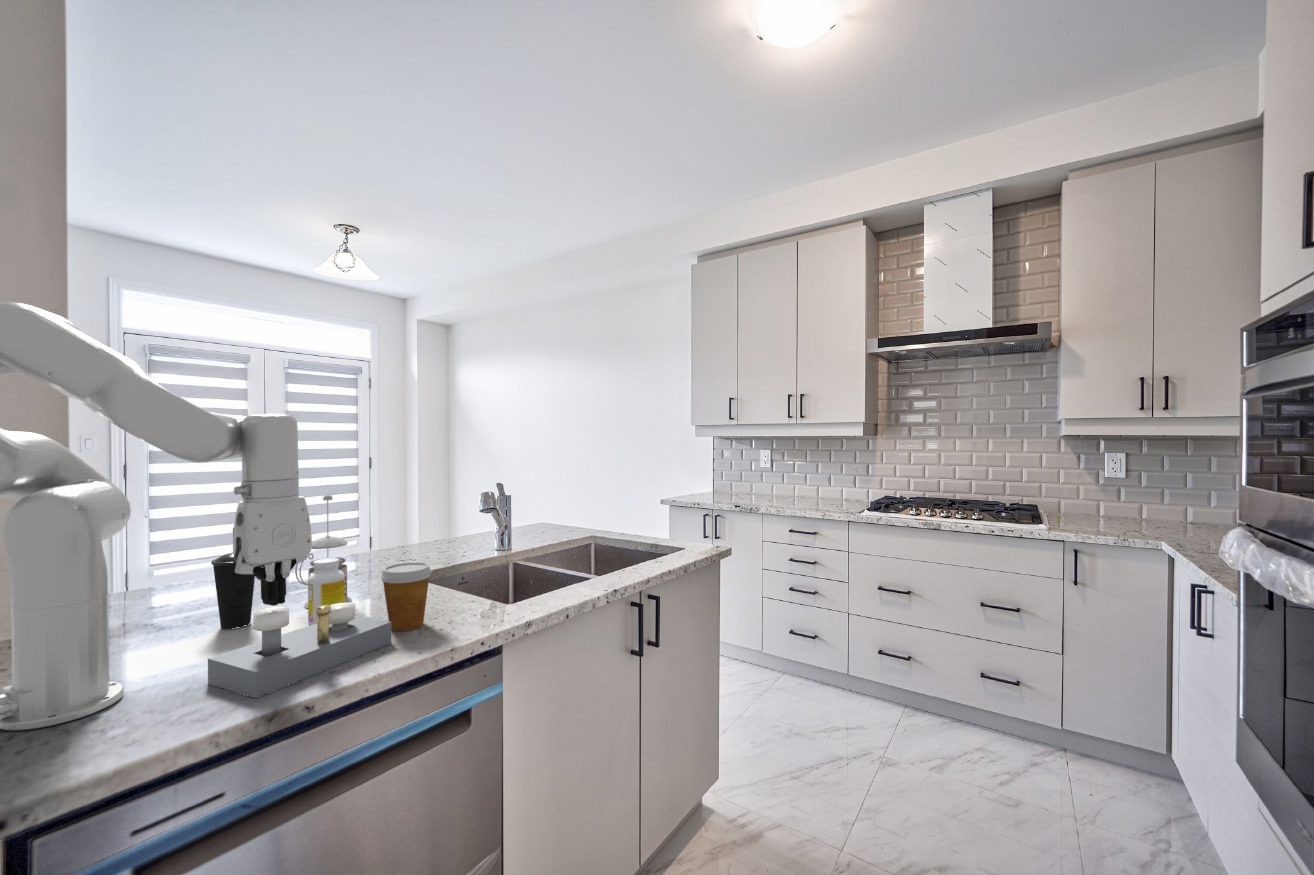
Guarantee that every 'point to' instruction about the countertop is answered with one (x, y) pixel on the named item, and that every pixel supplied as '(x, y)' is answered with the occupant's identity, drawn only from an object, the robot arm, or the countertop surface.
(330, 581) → the supplement bottle
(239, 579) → the drinking cup
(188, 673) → the countertop surface
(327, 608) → the brass post
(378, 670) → the countertop surface
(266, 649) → the knob near
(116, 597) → the countertop surface
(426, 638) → the countertop surface
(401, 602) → the disposable coffee cup
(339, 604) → the knob far
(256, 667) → the mount
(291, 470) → the robot arm
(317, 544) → the french press
